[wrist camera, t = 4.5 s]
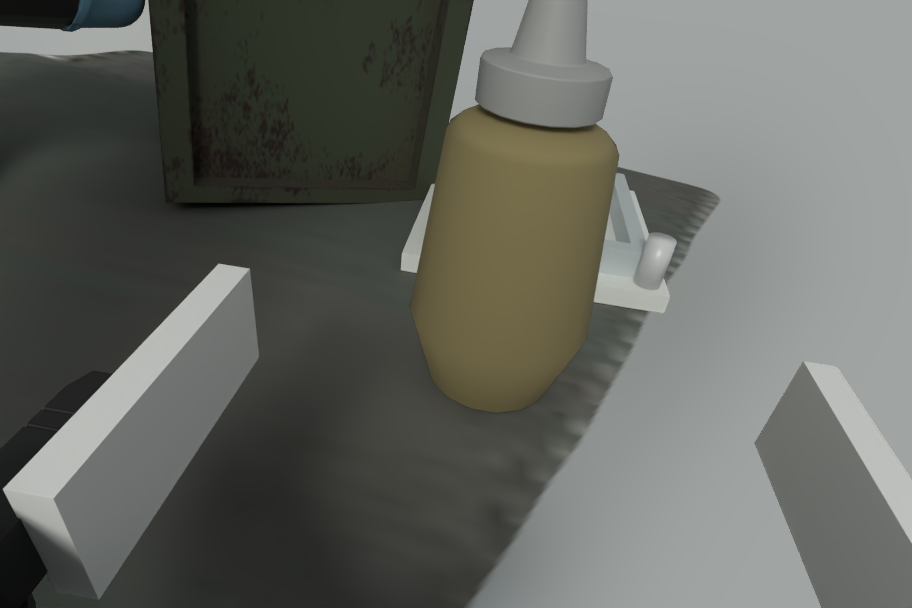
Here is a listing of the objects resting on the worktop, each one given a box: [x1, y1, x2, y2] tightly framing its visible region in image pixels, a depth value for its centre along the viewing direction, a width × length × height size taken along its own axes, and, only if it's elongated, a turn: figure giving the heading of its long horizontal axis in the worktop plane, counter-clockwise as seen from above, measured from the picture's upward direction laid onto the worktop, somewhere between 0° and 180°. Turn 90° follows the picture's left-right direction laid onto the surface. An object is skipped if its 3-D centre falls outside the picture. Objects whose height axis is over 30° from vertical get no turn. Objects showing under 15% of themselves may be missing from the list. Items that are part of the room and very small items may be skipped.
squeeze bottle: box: [410, 0, 619, 413], centre depth 23 cm, size 8×8×18 cm
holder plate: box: [401, 173, 677, 313], centre depth 40 cm, size 16×16×4 cm
